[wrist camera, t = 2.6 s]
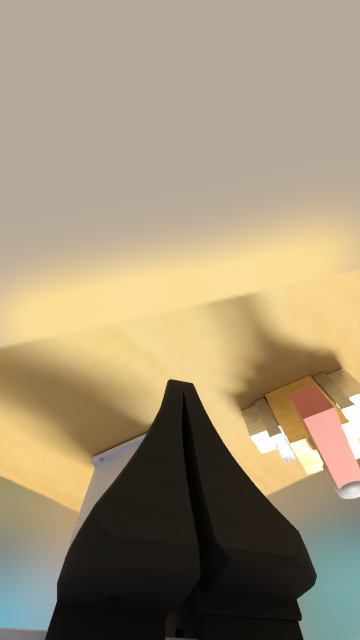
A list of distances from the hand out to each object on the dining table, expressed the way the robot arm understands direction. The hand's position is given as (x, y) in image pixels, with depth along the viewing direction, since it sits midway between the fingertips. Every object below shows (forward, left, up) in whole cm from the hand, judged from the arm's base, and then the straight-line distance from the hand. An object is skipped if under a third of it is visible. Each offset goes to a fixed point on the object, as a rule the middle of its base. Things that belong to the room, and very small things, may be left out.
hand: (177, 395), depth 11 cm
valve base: (+6, -12, -7) cm, 15 cm away
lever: (+6, -9, -1) cm, 10 cm away
